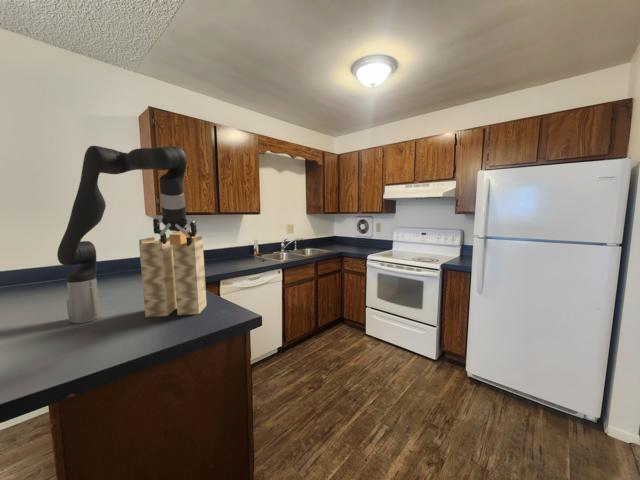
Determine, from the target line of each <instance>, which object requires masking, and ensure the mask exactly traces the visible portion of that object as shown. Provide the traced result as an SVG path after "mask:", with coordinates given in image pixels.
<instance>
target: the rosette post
mask: <svg viewBox="0 0 640 480" xmlns="http://www.w3.org/2000/svg"><path fill="white" fill-rule="evenodd" d="M166 239H167V242H166V244H163V243H162V242H161V239H157V240H155V237H154V236H152V237H147V238H142V239H139V240H138V241H139V243H138V247H139V248H138V249H139V258H140V259H139V261H140V269H141V271H140V272H141V281H142V282H141V283H142V292H143V293H142V294H143V301H144V302H143V305H144V313H145V314H144V315H145V318H153V317H155V318H157V317H169V316H170V315H171V314H172V313H173V312H174V311H175V310H177V302H176V288H175V275H174V262H173V248H172V245H170V237H169V236H166Z"/></svg>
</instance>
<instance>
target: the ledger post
mask: <svg viewBox="0 0 640 480" xmlns="http://www.w3.org/2000/svg"><path fill="white" fill-rule="evenodd" d="M203 242H204V241H203V235H201V236H200V235H198V236H197V237H195V238H192V243H191V245H189V246H187V243H184V244H178V245H172V248H173V262H174V275H175V288H176V302H177V308H176V312H177V314H176V315H177V316H188V315H189V316H191V315H199V314H201V312H202V311H204V309H205V308H206V307H207V289H206V275H205V274H206V273H205V271H206V270H205V257H204V256H205V255H204V243H203Z"/></svg>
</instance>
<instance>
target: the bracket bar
mask: <svg viewBox="0 0 640 480" xmlns="http://www.w3.org/2000/svg"><path fill="white" fill-rule="evenodd" d="M190 232H191V230H190ZM168 237H170V245H178V244H184V243H187V240H186V238H187V236H186V235H185V234H183V233H182V232H181V231H179V232H176V233H172V234H169V236H168ZM195 237H198V233H197V234H196V235H195ZM195 237H192V238H195Z"/></svg>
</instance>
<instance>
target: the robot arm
mask: <svg viewBox="0 0 640 480" xmlns="http://www.w3.org/2000/svg"><path fill="white" fill-rule="evenodd" d="M83 156H84V158H83V161H82V163H83V164H82V169H81V176H80V180H79V185H78V189H77V192H76V196H75V199H74V201H73V205H72V208H71V213H70V217H69V220H68V223H67V227H66V230H65V232H64V234H63V237H62V239H61V241H60V243H59V246H58V248H57V252H56V253H57V255H56V256H57V261H58V262H59V264H61V265H63V266H75V265H79V266H78V267H77V269H75V270H73V271H72V272H70V273H68V274H66V278H65V279H66V286H67V293H68V294H67V295H68V299H66V310H67V317H68V323H72V324H85V323H89V322H92V321H95V320H98V319H99V318H101V309H100V299H99V298H100V297H99V289H98V281H97V272H98V266H97V264H98V263H97V260H98V259H97V249H96V247H95V245H94V244H93V242H91V241H89V240H88V241H87V240H84V241H83V240H82V239H83V238H84V237H85V236H86V235H87V234H88V233H89V232H90V231H91V230H93V229H94V228H95V227H96V226H97V225H98V224H99V223H100V222H101V221H102V219H103V217H104V213H105V211H106V200H105V199H104V196H103V194H102V193H101V191H100V188H99V185H98V181H99V176H100V174H107V175H120V174H124V173H127V172H131V171H136V170H138V171H140V170H141V171H142V170H146V171H147V170H155V171H164V170H165V171H167V172H166V173H164V174H162V175H161V176H160V177H159V189H160V206H161V207H160V208H161V216H162V217H160V216H155V217H154V218H153V219H152V221H153V222H152V225H153V233H154V234H157V235H159V237H160V239H161V242H162V243H163V244H166V242H167V239H166V238H167V233H166V232H167V231H168V230H169V231H170V232H171V231H172V232H173V231H175V232H182V233H183V234H185V235H186V236H187V238H186V240H187V246H189V245H191V243H192V237H195V235H196V234H197V235H198V230H197V222H196V220H195V219H192V220H187V215H186V214H187V212H186V198H185V195H184V194H185V193H184V179H185V173H186V168H187V162H188V161H187V155H186V153H185V151H184V150H183V149H182V148H181V147H180V146H178V145H170V146H169V145H167V146H157V147H141V148H135V149H132V150H130V151H129V152H122V151H119V150H116V149H113V148H108V147H103V146H99V145H90V146H89V147H87V149H86V150H85V153H84V155H83ZM161 223H162V225H164V228H163V229H161V226H160V225H161ZM187 225H188V226H189V227H188V226H187ZM189 228H190V229H189ZM190 231H191V232H190Z"/></svg>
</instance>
